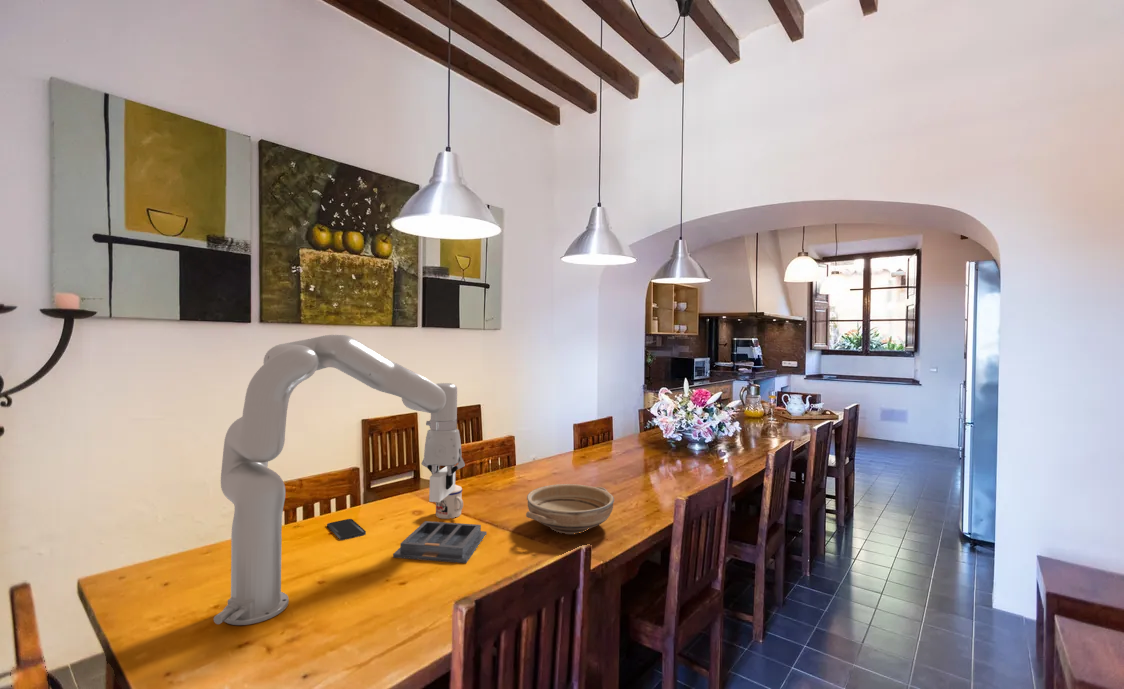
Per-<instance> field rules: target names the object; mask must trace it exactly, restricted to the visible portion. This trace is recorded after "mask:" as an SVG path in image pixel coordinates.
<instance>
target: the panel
mask: <svg viewBox="0 0 1124 689" xmlns="http://www.w3.org/2000/svg"><path fill="white" fill-rule="evenodd" d="M446 476H447V466H443V468H441V469H439V471H438V472H436V473H435V474H433V475H432V474H431V475H430V476H429V497H428V498H429V499H428V501H429V502H431V503H436V502H440V501H442V500H443V499H444V498H445V497H446V496H448V495H449V494H450V493H451V492H453V491H454V490H455V485H456V471H455V472H454V473H453V485H452V486H451V487H450V488H449V489H446Z"/></svg>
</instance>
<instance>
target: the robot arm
mask: <svg viewBox="0 0 1124 689" xmlns="http://www.w3.org/2000/svg"><path fill="white" fill-rule="evenodd" d="M327 368H334V369H337V370H338V371H340V372H342V373H343V374H346V375H348V376H350V377H352V378H353V379H356V380H357V381H359V382H361V383H362V384H364V385H366V386H367V387H369V388H371V389H374V390H376V391H379V392H382V393H385V394H389V395H393V396H395V397H396V396H397V397H399V398H401V402H402V403H403V405H404V406H405V407H406V408H408V409H409V410H412V411H413V410H414V411H418V412H423V413H427V414H430V420H426V422H425V425H426V426H428V427H429V429H428V430H427V432H426V436H425V443H424V449H423V450H424V451H423V452H424V453H423V460H422V462H421V465H422V466H423V467H425V468H427V469H428V470H429V471H430V473H431V476H432V475H433V474H435V473H436V472H438V471H440V466H443V467H446V466H447V476H446V489H449V488H450V487H451V486H452V485H453V473H454V472H455V473H456V472H457V471H458V470H460V469H462V468H464V467H465V465H466V463H465V461H464V458H463V457H462V443H461V442H462V441H461V436H460V435H461V434H460V429H458V428H457V427H458V426H457V424H458V415H457V414H458V387H457V385H456V384H454V383H450V382H449V383H448V382H445V383H444V382H443V383H442V382H440V383H434V382H433V381H432V380H429V379H428V378H426V377H424V376H423V375H421V374H419V373H417V372H415V371H413V370H410V369H408V368H407V367H404V366H402V365H401V364H399V363H397V362H394V361H392V360H390V359H389V358H387V357H385V356H384V355H382V354H380V353H378V352H377V351H375V350H374V349H372V348H370V347H369V346H367V345H366V344H364V343H362V342H360V341H359V340H357V339H356V338H354V337H352V336H349V335H346V334H327V335H321V336H317V337H312V338H311V337H310V338H307V339H302V340H296V341H291V342H285V343H281V344H277V345H275V346H272V347H271V348H269V350H267V352H266V353H265V355H264V357H263V365H262V366H260V368H259V369H258V370H256V372H255V373H254V374H253V376H252V377H251V379H250V381H249V383H248V384H247V389H246V393H245V396H244V404H243V410H242V416H241V417H239V418H237V419H236V420H234V422H232V424H230V425H229V427H228V429H227V430H226V431H227V432H226V433H225V437H224V441H223V442H224V443H223V452H222V462H221V473H220V488H221V492H222V494H223V495H224V496H225V497H226V498H227V499H228V500H229V501H230V502H231V504H234V511H233V512H234V513H233V519H232V524H231V525H232V526H231V536H230V537H231V538H230V539H231V540H230V542H231V543H230V545H231V547H230V548H231V551H230V553H231V554H230V556H231V558H230V560H231V562H230V563H231V564H230V565H231V566H230V570H231V571H230V597H229V599H227V604H226V606H225V607H224V608H223V609H222V611H220V612H219V613H218V614H216V615H214V617H213V622H214V624H216V625H221V624H222V623H225V624H226V623H227V624H228V625H231V626H248V625H253V624H258V623H261V622H264V621H267V620H269V619H272V618H274V617H276V616H277V615H279V614H281V613H282V612H283V611H285V609H286V608H287V607H288V605H289V602H290V601H289V596H288V594H286V593H285V592H282V540H283V538H282V528H283V527H282V526H283V525H282V522H283V511H284V506H285V501H286V485H285V482H284V480H283V479H282V477H281V476H280V474H278V473H277V472H276V471H274V470H273V469H271V468H269V467H268V464H269V462H271V461H273V460H275V459H276V458H278V457H279V455H281V453H282V451H283V449H284V447H285V440H286V427H287V414H288V408H289V407H288V406H289V402H290V399H291V398H290V397H291V395H292V393H293V392H294V390H295V389H296V387H298V385H300V383H301V384H302V382H304V381H306V380H308V379H310V378H311V377H312V376H313V375H314V374H315V372H316V371H319V370H323V369H327Z"/></svg>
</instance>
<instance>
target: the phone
mask: <svg viewBox="0 0 1124 689" xmlns="http://www.w3.org/2000/svg"><path fill="white" fill-rule="evenodd" d="M326 528H328V529H329V531H330V532H331V533H332V532H333V533H334V534H335V535H336V536H337V537H338V538H339V539H340V540H339V539H338V538H337V537H336V536H335V535H334V536H335V537H336V538H337V539H338V540H339V541H345V539H346V540H349V539H354V538H358V537H363V536H366V534H367V533H366V532H367V531H366V530H365V529H364V528H363V527H362V526H361V525H359V524H358V523H357V522H356V521H355V520H354V519H352V518H346V519H342V520H338V521H337V520H336V521H331V522H328V523H327V524H326ZM333 533H332V534H333Z"/></svg>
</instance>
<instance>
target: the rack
mask: <svg viewBox="0 0 1124 689" xmlns="http://www.w3.org/2000/svg"><path fill="white" fill-rule="evenodd" d="M481 529H482V526H481V524H473V523H460V522H459V523H458V522H443V521H430V520H429V521H428V520H427V521H426V520H425V521H423V522H422V523H421V524H420V525H419V526H418V527H417V528H415V530H414V531H412V533H411V534H409V535H408V536H407V537H406V538H405V539H404V540H403V541H401V542H400V547H398V549H397V550H396V551H394V553H392V558H393V559H394V558H395V559H408V560H417V561H418V560H419V561H433V562H445V563H456V562H457V563H459V564H467V562H468V561H469V560H470V559H471V557H472V556H473V555H474V553H475V552H474V551H476V550H477V549H478V547H479V546H480V545H481V543H482V542H483V540H484V539H485V538H484V536H485V535H486V536H487V531H483V530H481ZM486 536H485V537H486ZM483 538H484V539H483ZM482 539H483V540H482ZM481 541H482V542H481ZM480 542H481V543H480ZM479 544H480V545H479ZM478 545H479V546H478ZM476 548H477V549H476Z"/></svg>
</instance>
